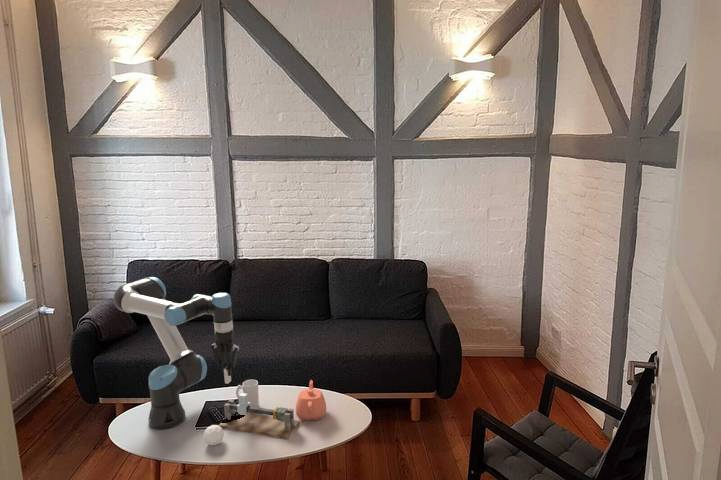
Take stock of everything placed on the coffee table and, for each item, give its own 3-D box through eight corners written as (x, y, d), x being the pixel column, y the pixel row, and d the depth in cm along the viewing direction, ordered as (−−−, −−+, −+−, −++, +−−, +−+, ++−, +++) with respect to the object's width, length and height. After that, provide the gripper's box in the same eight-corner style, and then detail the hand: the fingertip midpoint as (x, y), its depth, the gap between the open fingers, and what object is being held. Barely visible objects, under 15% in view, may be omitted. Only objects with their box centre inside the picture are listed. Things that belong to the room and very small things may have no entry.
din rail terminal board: (218, 427, 224) (217, 408, 222) (233, 412, 235) (232, 394, 233) (288, 439, 215) (287, 419, 213) (299, 423, 226) (299, 404, 224)
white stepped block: (237, 414, 225) (236, 396, 223) (242, 409, 228) (241, 391, 227) (246, 415, 224) (244, 397, 222) (250, 410, 227) (249, 392, 225)
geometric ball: (218, 451, 212) (218, 443, 206) (200, 443, 213) (199, 435, 207) (227, 434, 217) (227, 426, 211) (209, 426, 218) (209, 418, 212)
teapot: (326, 402, 243) (325, 378, 240) (326, 426, 224) (325, 400, 221) (297, 403, 242) (296, 379, 240) (294, 428, 223) (293, 401, 220)
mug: (260, 403, 243) (259, 379, 240) (257, 411, 236) (256, 386, 234) (239, 403, 243) (237, 379, 241) (235, 411, 237) (233, 386, 234)
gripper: (205, 331, 218) (209, 384, 223) (233, 334, 215) (237, 388, 220) (215, 325, 225) (219, 376, 230) (242, 328, 222) (246, 379, 227)
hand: (228, 382), depth 225 cm, fingers closed
